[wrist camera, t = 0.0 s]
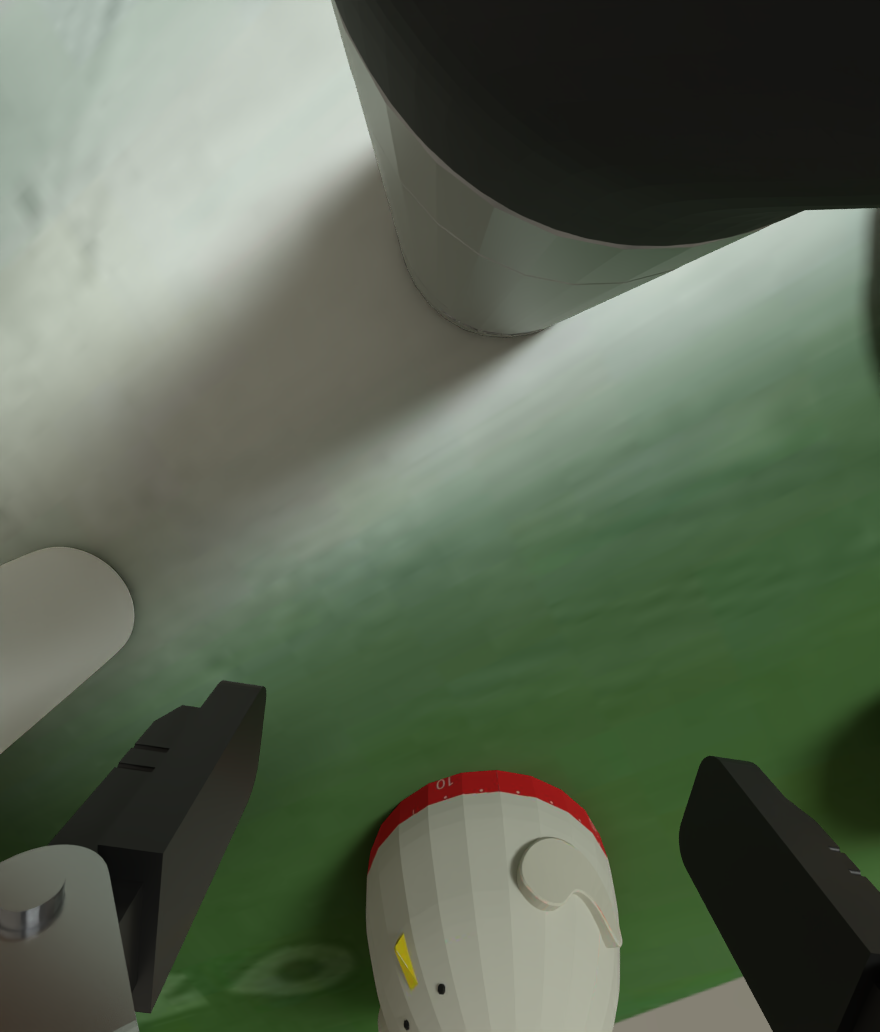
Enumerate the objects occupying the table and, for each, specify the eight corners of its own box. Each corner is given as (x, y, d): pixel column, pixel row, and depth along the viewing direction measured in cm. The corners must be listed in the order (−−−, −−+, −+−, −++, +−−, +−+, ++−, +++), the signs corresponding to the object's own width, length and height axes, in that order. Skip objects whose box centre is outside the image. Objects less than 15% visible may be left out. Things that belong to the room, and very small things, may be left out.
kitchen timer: (463, 727, 29) (488, 1069, 15) (651, 846, 31) (836, 1250, 17) (324, 890, 32) (231, 1313, 18) (506, 990, 34) (556, 1443, 20)
